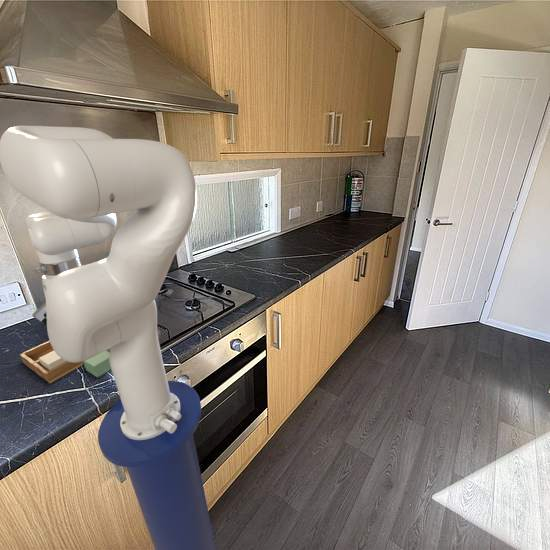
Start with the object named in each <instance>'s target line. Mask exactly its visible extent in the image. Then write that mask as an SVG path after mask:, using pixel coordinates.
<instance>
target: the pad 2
mask: <svg viewBox="0 0 550 550" xmlns="http://www.w3.org/2000/svg"><path fill="white" fill-rule="evenodd" d="M109 355H110V351H108V350H106V351H104V352H102V353H100V354H98V355H96V356H94V357H92V358H90V359H87V360H85V361H82V362H83V365H84V368H85V370H86V371H87V372H88V373H89V374H92V375H93V376H94V377H96V378H99V377H101V376H102V375H104V374H106V373H107V372H109V371H111V366H110V362H109Z"/></svg>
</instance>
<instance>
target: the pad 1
mask: <svg viewBox="0 0 550 550" xmlns="http://www.w3.org/2000/svg"><path fill="white" fill-rule="evenodd" d="M39 360H40V363H41V365H42V367H43V368H44V369H46V370H47V371H50V370H52V369H53V368H55V367H57V366H59V365H61V364H63V363H65V362H66V361H65V360H63V359H62V358H61V357H59V356H58V355H57V354H56V352H55V351H52V352H50V353H48V354H46V355H44V356H42V357H40V358H39Z"/></svg>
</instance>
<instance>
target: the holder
mask: <svg viewBox="0 0 550 550" xmlns="http://www.w3.org/2000/svg"><path fill="white" fill-rule="evenodd" d="M52 351H54V349H53V348H52V346H51V343H50V340H49V339H48V340H47V341H45V342H43V343H41V344H39V345H37V346H35V347H32V348H30V349H28V350H26V351H24V352H22V353H19V356H20V360H21V361H22V363H23V364H24V365H25V366H26V367H28V368H29V369H30V370H32V371H33V372H34V373H36V374H37V375H38V376H39V377H41V378H42V379H44V380H45V381H46V382H47V383H49V384H52V383H54V382H55V381H57V380H59V379H60V378H62V377H64V376H66V375H68V374H69V373H72V372H73V371H75V370H76V369H78V368H80V367H82V366H83V365H84V362H83V361H82V362H78V363H72V362H68V361H66V362H65V363H63V364H61V365H59V366H57V367H55V368H53V369H52V370H50V371H47V370H46V369H44V368H43V367H42V365H41V363H40V360H39V358H40V357H42V356H44V355H46V354H48V353H50V352H52Z"/></svg>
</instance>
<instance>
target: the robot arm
mask: <svg viewBox="0 0 550 550" xmlns="http://www.w3.org/2000/svg"><path fill="white" fill-rule="evenodd" d="M0 166H1V169H2V171H3V174H4V175H5V178H6V179H7V181H8V182H9V184H10V185H11V186H12V188H14V189H15V191H17V192H18V193H19V194H20V195H22V197H24V198H26V199H27V200H29V201H31V202H32V203H34V204H35V205H38V206H39V207H41V208H42V209H45V210H46V211H43V212H37V213H34V214H30V215H28V216H27V217H26V218H25V225H26V230H27V234H28V239H29V241H30V243H31V246H32V247H33V249H34V250H35V253H36V256H37V259H38V261H39V266H38V267H37V268H34V272H35V274H36V275H42V274H43V275H42V276H41V281H42V282H41V284H42V289H43V294H44V299H45V302H44V303H43V304H42V305H40V307H39V308H38V309H36V310H35V311H34V312H33V313H32V315H31V316H32V317H33V318H34V319H36V320H38V321H39V322H41V323H42V324H44V325H46V331H47V336H48V341H49V340H50V343H51V346H52V348H53V349H54V351H55V352H56V354H57V355H58V356H59V357H61V358H62V359H63V360H65V361H68V362H72V363H78V362H83V361H85V360H87V359H90V358H92V357H94V356H96V355H98V354H100V353H102V352H104V351H108V350H109V349H110V350H109V352H110V355H109V362H110V366H111V369H110V371H111V373H112V376H113V380H114V382H115V385H116V389H117V392H118V395H119V399H121V401H122V405H123V408H124V413H123V415H122V417H121V420H120V426H121V430H122V432H123V434H124V435H125V436H126V437H128V438H130V439H133V440H147V439H150V438H154V437H156V436H158V435H160V434H162V433H163V432H165V431H167V432H169V433H171V434H172V433H173V432H175V430H176V428H177V425H176V424H175V421H176V420H177V421H178V420H179V419H180V418H181V414H180V410H181V406H180V401H179V399H178V397H177V396H176V395H174V394H173V393H170V390H169V386H168V381H169V380H168V376H167V373H166V369H165V364H164V360H163V355H162V350H161V344H160V339H159V332H158V307H157V302H156V298H158V297H157V296H158V295H159V293H160V291H161V289H162V286H163V284H164V282H165V280H166V277H167V275H168V272H169V270H170V268H171V265H172V263H173V260H174V258H175V256H176V254H177V253H178V251H179V249H180V247H181V246H182V244H183V242H184V240H185V239H186V237H187V235H188V233H189V231H190V229H191V226H192V224H193V221H194V218H195V214H196V210H197V197H198V196H197V183H196V180H195V175H194V172H193V169H192V166H191V164H190V162H189V160H188V158H187V157H186V156H185V155H184V154H183V152H181V151H180V150H179V149H178V148H176V147H174V146H172V145H170V144H168V143H165V142H162V141H158V140H152V139H142V138H113V137H112V136H110V135H109V134H107V133H105V132H103V131H100V130H98V129H94V128H89V127H80V126H79V127H78V126H77V127H76V126H49V125H16V126H13V127H9V128H8V129H7V130H5V131H4V132H3V133H2V135H1V137H0ZM130 211H134V212H133V213H132V214H131V215H130V216H129V217H128V218H127V219H126V220H125V221H124V222H123V224H121V226H120V227H119V228H118V230H117V231H116V229H117V224H118V221H117V214H118V213H119V214H120V213H124V212H130ZM115 231H116V232H115ZM114 232H115V235H114V237H113V238H112V242H111V244H110V245H111V246H110V250H109V254H108V256H107V257H105V258H102V259H100V260H97V261H93V262H91V263H88V264H82V261H81V257H80V254H79V251H78V250H80V249H83V248H87V247H92V246H96V245H100V244H103V243H105V242H106V241H108V240H110V238H111V236H112V235H113V233H114ZM45 315H46V316H45Z"/></svg>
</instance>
